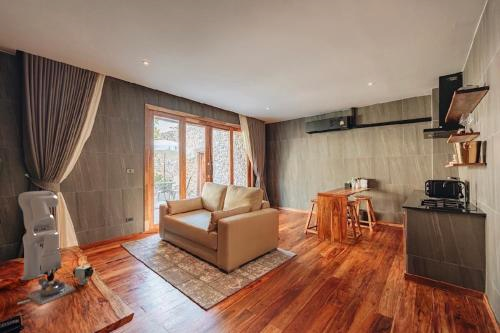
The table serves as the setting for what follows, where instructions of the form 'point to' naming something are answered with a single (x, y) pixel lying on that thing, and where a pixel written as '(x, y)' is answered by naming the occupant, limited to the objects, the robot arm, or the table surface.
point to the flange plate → (45, 299)
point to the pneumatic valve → (83, 273)
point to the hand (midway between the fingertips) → (50, 280)
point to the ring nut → (50, 287)
